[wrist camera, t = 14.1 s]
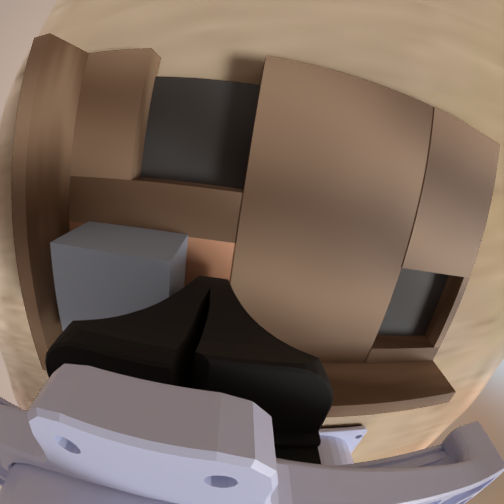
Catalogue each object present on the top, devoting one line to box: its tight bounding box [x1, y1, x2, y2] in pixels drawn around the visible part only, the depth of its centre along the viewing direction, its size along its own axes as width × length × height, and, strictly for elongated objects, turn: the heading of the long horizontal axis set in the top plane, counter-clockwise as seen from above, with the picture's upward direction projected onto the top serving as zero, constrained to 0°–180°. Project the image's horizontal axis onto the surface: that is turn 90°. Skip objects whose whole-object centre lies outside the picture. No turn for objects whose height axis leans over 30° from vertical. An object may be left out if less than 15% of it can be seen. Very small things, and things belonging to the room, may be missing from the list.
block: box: [50, 221, 188, 331], centre depth 10 cm, size 4×4×3 cm
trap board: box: [12, 33, 500, 417], centre depth 11 cm, size 14×21×4 cm, turn 81°
